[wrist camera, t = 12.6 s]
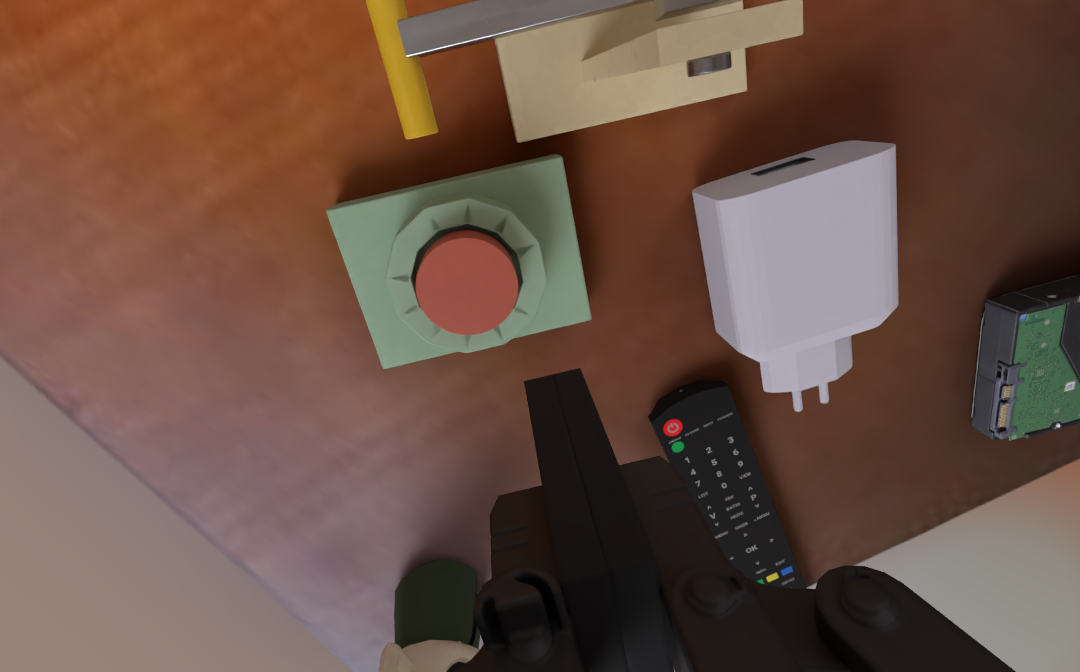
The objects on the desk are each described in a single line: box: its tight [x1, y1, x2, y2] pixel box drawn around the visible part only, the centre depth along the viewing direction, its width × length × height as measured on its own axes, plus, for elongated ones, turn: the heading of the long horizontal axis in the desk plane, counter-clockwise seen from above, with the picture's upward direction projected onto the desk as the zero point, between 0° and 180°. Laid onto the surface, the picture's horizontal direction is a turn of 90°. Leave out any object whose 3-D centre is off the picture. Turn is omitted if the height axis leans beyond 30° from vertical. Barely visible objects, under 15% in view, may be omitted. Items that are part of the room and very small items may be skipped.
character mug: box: [379, 560, 484, 672], centre depth 34 cm, size 11×7×13 cm, turn 23°
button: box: [416, 230, 518, 335], centre depth 26 cm, size 5×5×2 cm
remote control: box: [648, 381, 806, 589], centre depth 39 cm, size 5×24×1 cm, turn 26°
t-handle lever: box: [366, 0, 742, 139], centre depth 17 cm, size 12×6×2 cm, turn 102°
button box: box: [326, 154, 592, 369], centre depth 29 cm, size 12×9×4 cm
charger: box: [692, 140, 898, 412], centre depth 31 cm, size 5×9×15 cm
